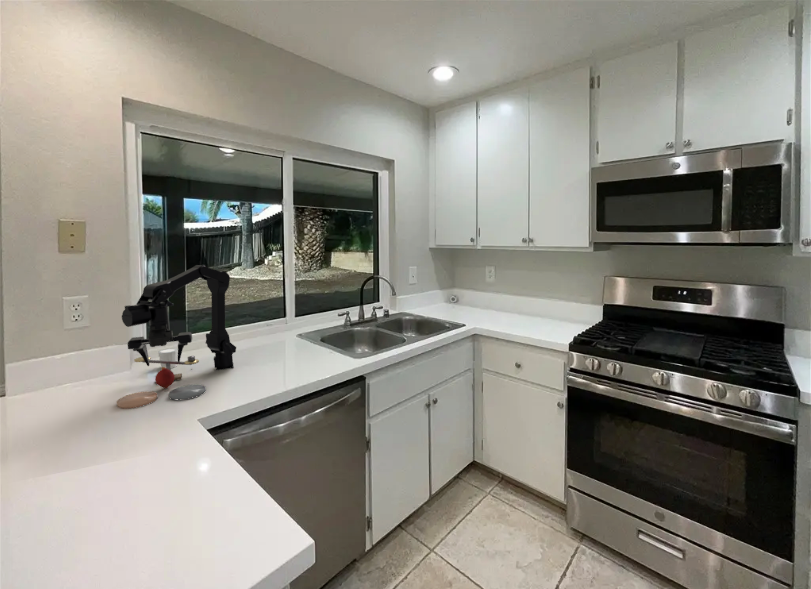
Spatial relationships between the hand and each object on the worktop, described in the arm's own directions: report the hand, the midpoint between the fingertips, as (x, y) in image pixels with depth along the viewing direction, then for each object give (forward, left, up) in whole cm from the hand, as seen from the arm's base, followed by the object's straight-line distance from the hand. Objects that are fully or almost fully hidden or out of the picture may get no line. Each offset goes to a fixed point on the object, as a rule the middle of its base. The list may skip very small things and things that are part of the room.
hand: (163, 363), depth 138 cm
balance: (0, -9, -9) cm, 13 cm away
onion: (0, 0, -9) cm, 9 cm away
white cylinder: (+2, -27, -9) cm, 29 cm away
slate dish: (-7, +9, -9) cm, 15 cm away
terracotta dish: (+7, +9, -9) cm, 15 cm away
